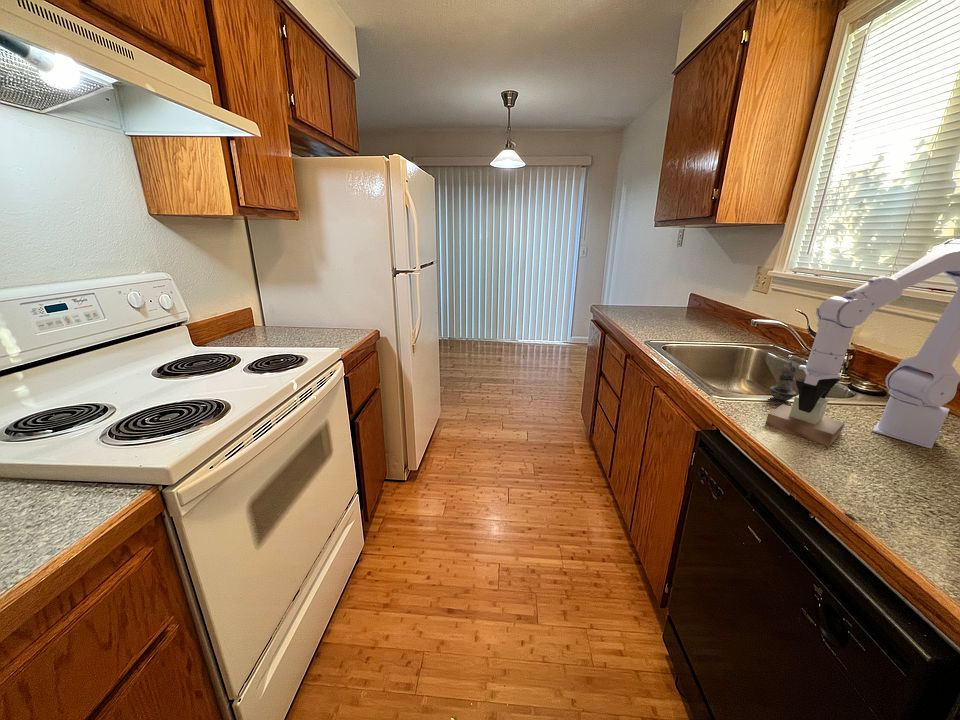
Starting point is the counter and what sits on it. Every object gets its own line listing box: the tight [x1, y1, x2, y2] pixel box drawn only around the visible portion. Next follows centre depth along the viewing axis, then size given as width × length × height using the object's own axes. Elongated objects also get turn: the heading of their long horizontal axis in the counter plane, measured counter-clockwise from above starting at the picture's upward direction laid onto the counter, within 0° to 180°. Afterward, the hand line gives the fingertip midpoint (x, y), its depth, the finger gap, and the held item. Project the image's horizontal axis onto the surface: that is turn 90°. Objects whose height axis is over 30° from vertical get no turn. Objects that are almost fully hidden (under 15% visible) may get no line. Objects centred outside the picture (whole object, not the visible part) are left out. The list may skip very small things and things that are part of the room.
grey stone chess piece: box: [767, 361, 797, 407], centre depth 104 cm, size 6×6×12 cm
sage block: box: [789, 394, 829, 425], centre depth 89 cm, size 5×5×5 cm
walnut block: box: [764, 404, 845, 447], centre depth 90 cm, size 12×10×3 cm
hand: (809, 407), depth 89 cm, fingers open, 7 cm apart
